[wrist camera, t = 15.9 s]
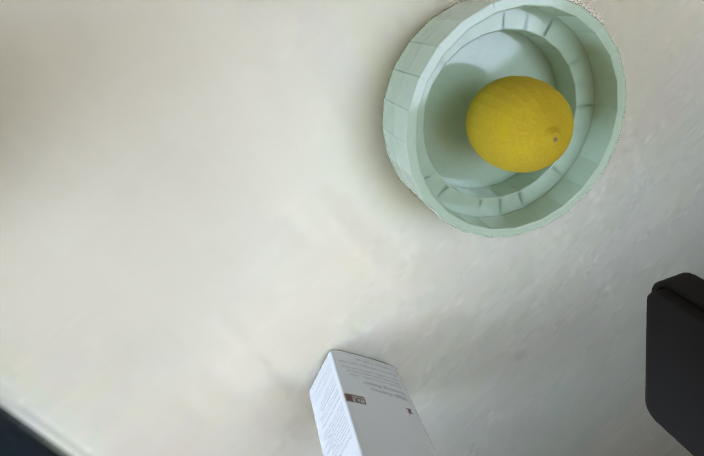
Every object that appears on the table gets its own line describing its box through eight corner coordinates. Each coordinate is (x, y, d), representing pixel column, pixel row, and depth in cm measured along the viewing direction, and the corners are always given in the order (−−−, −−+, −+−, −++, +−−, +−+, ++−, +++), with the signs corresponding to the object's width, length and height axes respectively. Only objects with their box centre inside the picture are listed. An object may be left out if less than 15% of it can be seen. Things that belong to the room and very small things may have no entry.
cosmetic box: (396, 364, 42) (463, 487, 32) (372, 409, 44) (428, 543, 33) (326, 346, 40) (372, 472, 29) (302, 394, 41) (338, 533, 30)
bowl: (339, 152, 35) (359, 174, 30) (461, -54, 32) (503, -64, 27) (496, 240, 40) (533, 270, 36) (612, 72, 38) (668, 80, 33)
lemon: (440, 81, 34) (503, 101, 27) (519, 59, 35) (601, 73, 28) (451, 162, 36) (512, 201, 29) (525, 141, 37) (602, 173, 30)
